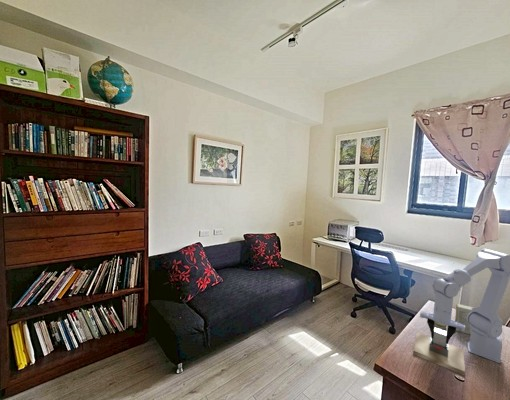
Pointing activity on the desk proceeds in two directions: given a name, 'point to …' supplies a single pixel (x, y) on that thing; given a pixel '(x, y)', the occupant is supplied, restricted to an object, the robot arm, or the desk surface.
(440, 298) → the robot arm
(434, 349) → the sleeve
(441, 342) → the column
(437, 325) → the supplement bottle
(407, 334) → the desk surface
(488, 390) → the desk surface
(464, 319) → the skincare box
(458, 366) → the stand base
